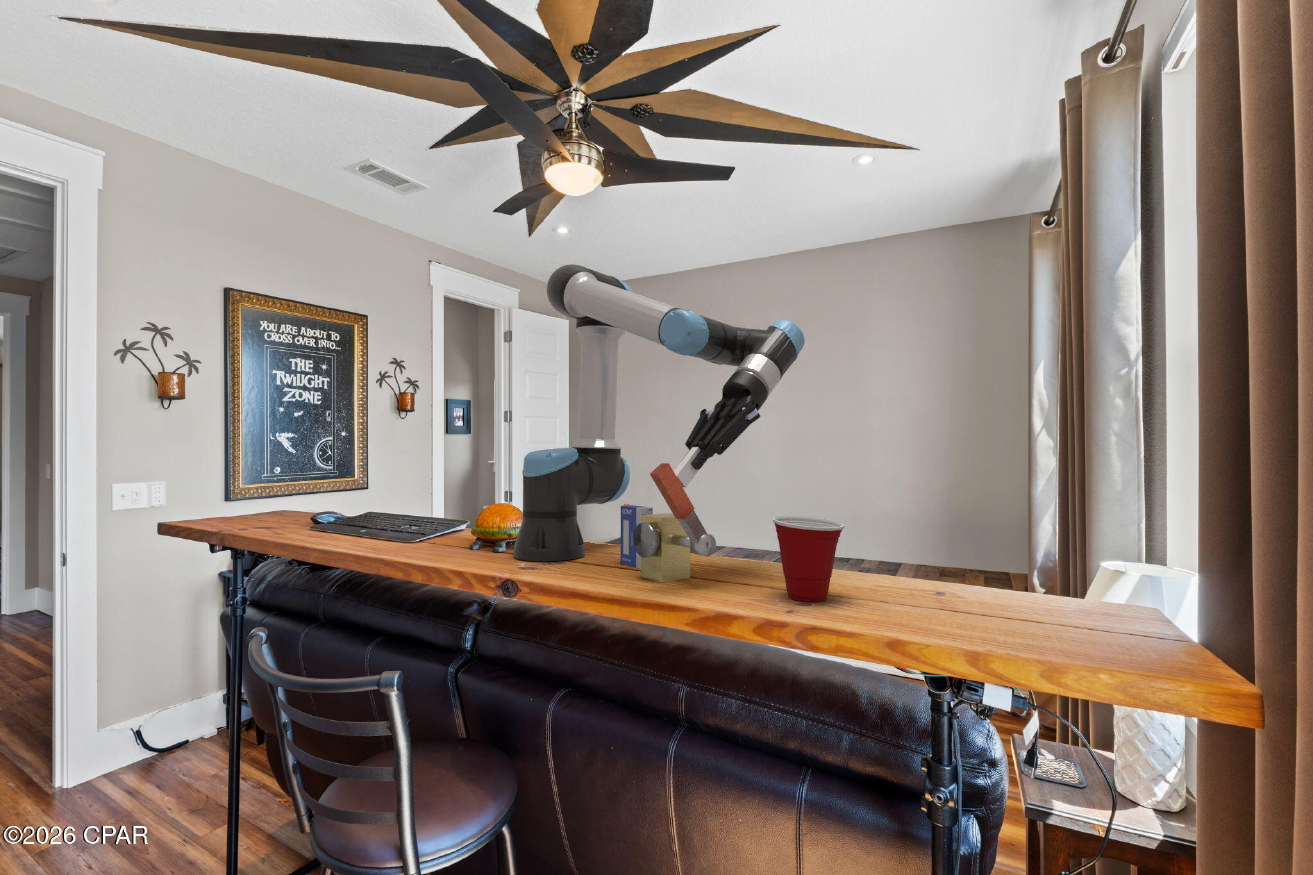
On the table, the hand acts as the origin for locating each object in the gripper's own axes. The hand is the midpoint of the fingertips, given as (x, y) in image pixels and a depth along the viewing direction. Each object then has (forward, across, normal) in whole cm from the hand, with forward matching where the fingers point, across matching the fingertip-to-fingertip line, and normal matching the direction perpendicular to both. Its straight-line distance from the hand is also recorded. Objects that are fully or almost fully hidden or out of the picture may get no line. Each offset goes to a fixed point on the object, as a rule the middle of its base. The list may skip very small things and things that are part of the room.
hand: (678, 481), depth 92 cm
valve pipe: (+9, +7, -16) cm, 20 cm away
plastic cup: (+3, -15, -22) cm, 27 cm away
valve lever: (+4, 0, -13) cm, 13 cm away
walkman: (+7, +23, -18) cm, 30 cm away
